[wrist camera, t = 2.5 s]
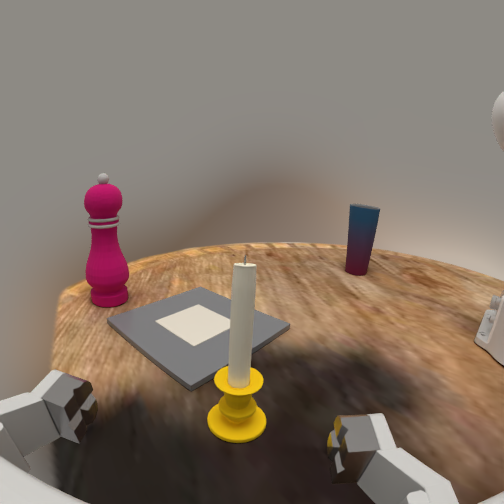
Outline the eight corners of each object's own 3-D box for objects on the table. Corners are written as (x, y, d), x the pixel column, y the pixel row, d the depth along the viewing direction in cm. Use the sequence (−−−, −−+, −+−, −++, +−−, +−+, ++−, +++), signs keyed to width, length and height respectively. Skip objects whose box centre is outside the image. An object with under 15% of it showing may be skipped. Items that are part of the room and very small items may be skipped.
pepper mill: (139, 296, 48) (136, 172, 42) (110, 313, 41) (101, 174, 35) (109, 287, 50) (104, 172, 44) (80, 301, 43) (70, 175, 38)
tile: (200, 290, 52) (200, 286, 52) (289, 328, 41) (290, 323, 41) (107, 323, 38) (106, 317, 38) (191, 391, 28) (190, 384, 27)
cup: (337, 272, 66) (345, 204, 62) (346, 265, 71) (355, 203, 67) (365, 279, 62) (376, 209, 58) (373, 271, 68) (382, 208, 64)
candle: (209, 402, 26) (208, 243, 22) (263, 403, 27) (280, 246, 23) (205, 442, 21) (200, 266, 17) (268, 443, 22) (292, 270, 18)
